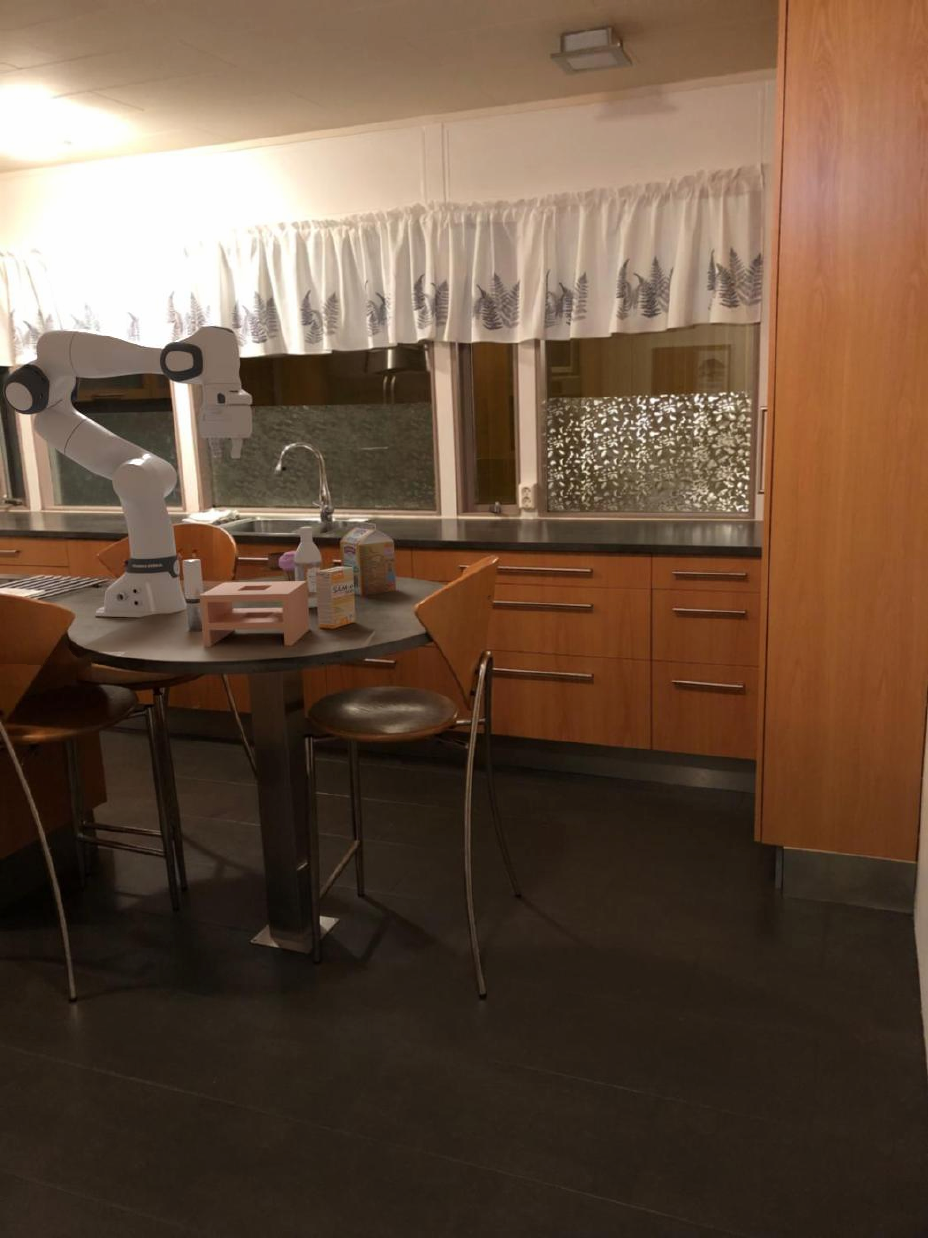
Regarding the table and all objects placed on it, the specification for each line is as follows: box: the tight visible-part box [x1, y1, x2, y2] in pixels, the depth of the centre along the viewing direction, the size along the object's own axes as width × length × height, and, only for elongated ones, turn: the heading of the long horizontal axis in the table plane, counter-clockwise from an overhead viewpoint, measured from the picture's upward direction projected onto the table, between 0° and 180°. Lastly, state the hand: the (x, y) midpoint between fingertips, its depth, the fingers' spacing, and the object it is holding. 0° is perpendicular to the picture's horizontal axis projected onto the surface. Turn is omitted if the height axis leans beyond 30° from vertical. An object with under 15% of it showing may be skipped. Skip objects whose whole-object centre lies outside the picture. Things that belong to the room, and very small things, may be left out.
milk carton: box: [339, 521, 397, 597], centre depth 264 cm, size 11×11×19 cm
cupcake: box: [279, 550, 296, 581], centre depth 281 cm, size 9×9×10 cm
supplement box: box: [315, 566, 356, 629], centre depth 224 cm, size 8×5×13 cm, turn 148°
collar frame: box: [199, 580, 311, 647], centre depth 214 cm, size 19×16×11 cm
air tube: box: [181, 558, 204, 633], centre depth 224 cm, size 4×4×16 cm
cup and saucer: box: [260, 551, 287, 573], centre depth 305 cm, size 12×12×6 cm
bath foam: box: [294, 526, 324, 609], centre depth 248 cm, size 7×7×20 cm
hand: (226, 457), depth 231 cm, fingers open, 8 cm apart
